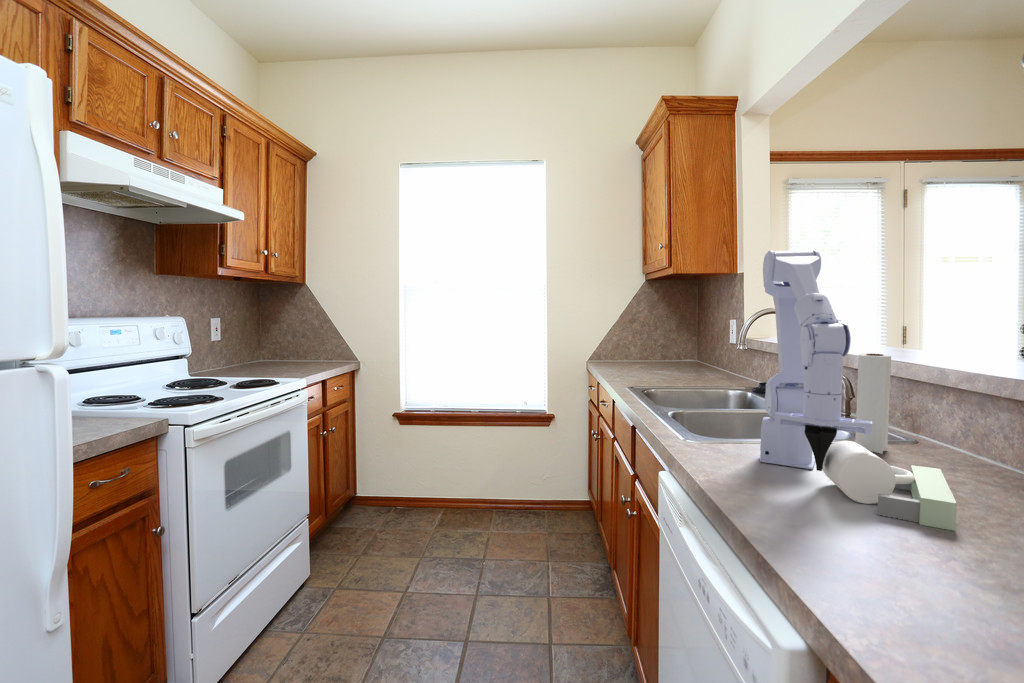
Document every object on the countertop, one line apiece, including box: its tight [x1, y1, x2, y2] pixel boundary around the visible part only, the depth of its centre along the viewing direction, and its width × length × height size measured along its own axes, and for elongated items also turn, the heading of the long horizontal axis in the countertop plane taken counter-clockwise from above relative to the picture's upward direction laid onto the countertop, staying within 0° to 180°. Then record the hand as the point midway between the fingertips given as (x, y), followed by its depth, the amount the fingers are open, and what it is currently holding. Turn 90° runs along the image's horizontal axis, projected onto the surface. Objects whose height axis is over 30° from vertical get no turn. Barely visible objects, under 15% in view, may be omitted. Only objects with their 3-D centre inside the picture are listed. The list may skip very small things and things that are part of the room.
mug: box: [822, 440, 915, 505], centre depth 87 cm, size 12×10×8 cm
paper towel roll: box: [854, 353, 892, 455], centre depth 115 cm, size 7×6×21 cm
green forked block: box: [877, 464, 958, 532], centre depth 83 cm, size 9×19×4 cm, turn 146°
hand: (819, 469), depth 90 cm, fingers closed, pressing on mug
